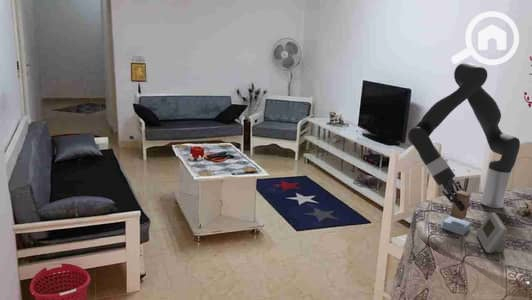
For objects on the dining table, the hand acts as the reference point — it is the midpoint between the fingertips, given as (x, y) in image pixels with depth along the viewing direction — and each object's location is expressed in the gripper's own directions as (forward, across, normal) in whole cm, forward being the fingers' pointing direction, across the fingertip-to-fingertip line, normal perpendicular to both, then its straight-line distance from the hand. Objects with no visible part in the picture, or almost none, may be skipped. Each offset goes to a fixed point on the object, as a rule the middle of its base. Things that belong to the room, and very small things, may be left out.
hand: (465, 208), depth 168 cm
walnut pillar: (+2, 0, +4) cm, 5 cm away
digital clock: (+15, -5, -1) cm, 16 cm away
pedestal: (+5, 0, +8) cm, 10 cm away
